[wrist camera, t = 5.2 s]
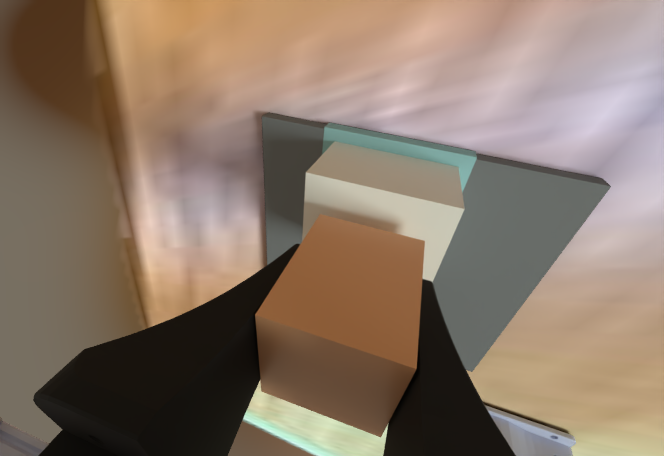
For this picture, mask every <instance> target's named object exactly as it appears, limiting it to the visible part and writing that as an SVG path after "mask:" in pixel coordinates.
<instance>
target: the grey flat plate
mask: <svg viewBox="0 0 664 456" xmlns="http://www.w3.org/2000/svg"><path fill="white" fill-rule="evenodd" d="M262 136H263V163H264V189H265V215H266V242H267V265H268V264H270V263H271V262H272V261H274V260H275V259H276V258H278V257H279V256H280V255H282V254H283V253H284V252H286V251H287V250H288V249H289V248H291V247H292V246H293V245H295V244H301V243H302V234H303V215H304V197H305V179H306V172H307V171H308V169H309V168H310V167H311V166H312V165H313V164H314V163H315V162H316V161H317V160H318V159H319V158H320V157H321V156H322V154H323V153H324V152H325V151H326V150H327V149H328V148H329V147H330V146H331V145H332V144H333V143H334V142H335V141H336V142H341V143H346V144H350V145H355V146H360V147H365V148H370V149H375V150H379V151H384V152H389V153H394V154H399V155H403V156H408V157H413V158H418V159H423V160H428V161H432V162H437V163H442V164H447V165H452V166H456V167H459V174H460V181H461V188H462V195H463V201H464V208H465V209H464V212H463V214H462V216H461V219H460V221H459V223H458V225H457V228H456V230H455V232H454V234H453V237H452V239H451V241H450V244H449V246H448V248H447V250H446V253H445V255H444V257H443V260H442V262H441V264H440V266H439V269H438V271H437V273H436V275H435V278H434V280H433V282H432V283H433V285H434V289H435V292H436V296H437V299H438V302H439V306H440V308H441V311H442V314H443V317H444V320H445V323H446V325H447V328H448V330H449V333H450V335H451V338H452V340H453V343H454V345H455V347H456V350H457V352H458V354H459V356H460V358H461V361H462V363H463V365H464V367H465V369H466V370H468V371H471V372H472V371H473V370H474V369H475V367H476V366H477V365H478V363H479V362H480V361H481V359H482V358H483V357H484V355H485V354H486V353H487V351H488V350H489V349H490V347H491V346H492V345H493V343H494V342H495V341H496V339H497V338H498V337H499V335H500V334H501V333H502V331H503V330H504V329H505V327H506V326H507V325H508V323H509V322H510V321H511V319H512V318H513V317H514V315H515V314H516V313H517V311H518V310H519V309H520V307H521V306H522V305H523V303H524V302H525V301H526V299H527V298H528V297H529V295H530V294H531V293H532V291H533V290H534V289H535V287H536V286H537V285H538V283H539V282H540V281H541V279H542V278H543V277H544V275H545V274H546V273H547V271H548V270H549V269H550V267H551V266H552V265H553V263H554V262H555V261H556V259H557V258H558V257H559V255H560V254H561V253H562V251H563V250H564V249H565V247H566V246H567V245H568V243H569V242H570V241H571V239H572V238H573V237H574V235H575V234H576V233H577V231H578V230H579V229H580V227H581V226H582V225H583V223H584V222H585V221H586V219H587V218H588V217H589V215H590V214H591V213H592V211H593V210H594V209H595V207H596V206H597V205H598V203H599V202H600V201H601V199H602V198H603V197H604V195H605V194H606V193H607V191H608V190H609V189H610V187H611V186H610V185H609V184H608V183H607V182H606V181H605V180H603V179H602V178H597V177H592V176H587V175H582V174H577V173H571V172H566V171H561V170H556V169H551V168H546V167H541V166H536V165H531V164H526V163H521V162H516V161H511V160H506V159H501V158H496V157H491V156H486V155H480V154H476V152H475V151H471V150H466V149H461V148H456V147H451V146H446V145H441V144H436V143H431V142H426V141H420V140H415V139H410V138H405V137H400V136H395V135H390V134H385V133H380V132H375V131H370V130H364V129H359V128H354V127H349V126H344V125H339V124H334V123H328V124H324V123H319V122H314V121H309V120H303V119H298V118H293V117H288V116H283V115H278V114H273V113H267V114H265V115H263V116H262Z"/></svg>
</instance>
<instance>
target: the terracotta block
mask: <svg viewBox="0 0 664 456" xmlns="http://www.w3.org/2000/svg"><path fill="white" fill-rule="evenodd" d="M424 247H425V241H423V240H419V239H416V238H412V237H408V236H404V235H400V234H396V233H392V232H388V231H384V230H380V229H377V228H373V227H369V226H365V225H361V224H357V223H353V222H349V221H345V220H341V219H338V218H334V217H330V216H326V215H322V214H320V215H319V216H318V218H317V219H316V221H315V223H314V224H313V226H312V227H311V229H310V230H309V232H308V233H307V235H306V237H305V238H304V240H303V241H302V243H301V244H300V246H299V247H298V249H297V251H296V252H295V254H294V255H293V257H292V258H291V260H290V261H289V263H288V265H287V266H286V268H285V269H284V271H283V272H282V274H281V275H280V277H279V279H278V280H277V282H276V283H275V285H274V286H273V288H272V289H271V291H270V292H269V294H268V296H267V297H266V299H265V300H264V302H263V303H262V305H261V306H260V308H259V310H258V311H257V313H256V314H255V319H256V331H257V343H258V355H259V367H260V379H261V391H262V392H265V393H267V394H270V395H273V396H275V397H278V398H280V399H283V400H286V401H288V402H291V403H293V404H296V405H298V406H301V407H304V408H306V409H309V410H311V411H314V412H317V413H319V414H322V415H324V416H327V417H330V418H332V419H335V420H337V421H340V422H343V423H345V424H348V425H350V426H353V427H355V428H358V429H361V430H363V431H366V432H368V433H371V434H374V435H376V436H379V437H381V436H382V434H383V432H384V430H385V428H386V426H387V424H388V423H389V421H390V419H391V417H392V415H393V413H394V411H395V409H396V407H397V405H398V403H399V402H400V400H401V398H402V396H403V394H404V392H405V390H406V388H407V386H408V384H409V383H410V381H411V379H412V377H413V375H414V373H415V371H416V369H417V355H418V339H419V324H420V308H421V293H422V278H423V262H424Z"/></svg>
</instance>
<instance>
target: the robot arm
mask: <svg viewBox="0 0 664 456" xmlns="http://www.w3.org/2000/svg"><path fill="white" fill-rule="evenodd" d="M299 246H300V244H295V245H293V246H292V247H291V248H289V249H288V250H287V251H286V252H284V253H283V254H282V255H280V256H279V257H278V258H276V259H275V260H274V261H272V262H271V263H270V264H268V265H267V266H265V267H264V268H263V269H261V270H260V271H258V272H257V273H256V274H254V275H253V276H251V277H250V278H248V279H246V280H245V281H243V282H242V283H240V284H239V285H237V286H235V287H234V288H232V289H230V290H229V291H227V292H225V293H224V294H222V295H220V296H218V297H216V298H214V299H213V300H211V301H209V302H207V303H205V304H203V305H201V306H199V307H197V308H195V309H192V310H190V311H188V312H186V313H184V314H182V315H180V316H177V317H175V318H173V319H170V320H168V321H165V322H163V323H160V324H158V325H155V326H153V327H150V328H147V329H145V330H142V331H139V332H137V333H134V334H131V335H128V336H125V337H122V338H119V339H116V340H112V341H109V342H106V343H103V344H100V345H97V346H94V347H90V348H87V349H84V350H83V351H82V352H81V353H80V354H78V355H77V356H76V357H75V358H74V359H73V360H72V361H70V362H69V363H68V364H67V365H66V366H65V367H64V368H63V369H62V370H60V371H59V372H58V373H57V374H56V375H55V376H54V377H53V378H52V379H50V380H49V381H48V382H47V383H46V384H45V385H44V386H43V387H42V388H41V389H40V390H38V391H37V392H36V393H35V395H34V399H33V400H34V402H35V404H36V405H37V406H38V407H39V408H40V409H41V410H42V411H43V412H44V413H45V414H46V415H47V416H48V417H50V418H51V419H52V420H53V421H54V422H55V423H56V424H57V425H58V426H59V427H61V428H62V429H63V430H62V431H61V432H60V433H59V434H58V435H57V436H56V437H55V438H54V439H53V440H52V442H51V443H50V444H49V443H47V442H44V441H43V440H40V439H38V438H37V437H34V436H32V435H30V434H28V433H26V432H24V431H22V430H20V429H18V428H16V427H14V426H12V425H10V424H8V423H6V422H4V421H2V418H1V417H0V456H228V453H229V451H230V448H231V446H232V444H233V441H234V439H235V436H236V434H237V431H238V429H239V427H240V424H241V422H242V420H243V417H244V415H245V413H246V410H247V408H248V406H249V403H250V401H251V399H252V397H253V394H254V392H255V390H256V388H257V385H258V383H259V381H260V367H259V355H258V343H257V331H256V319H255V314H256V313H257V311H258V310H259V308H260V306H261V305H262V303H263V302H264V300H265V299H266V297H267V296H268V294H269V292H270V291H271V289H272V288H273V286H274V285H275V283H276V282H277V280H278V279H279V277H280V275H281V274H282V272H283V271H284V269H285V268H286V266H287V265H288V263H289V261H290V260H291V258H292V257H293V255H294V254H295V252H296V251H297V249H298V247H299ZM575 444H576V441H575V438H574V437H573V436H572V435H570V434H567V433H564V432H562V431H559V430H556V429H553V428H550V427H547V426H544V425H541V424H538V423H535V422H532V421H530V420H527V419H524V418H521V417H518V416H515V415H512V414H509V413H506V412H503V411H500V410H498V409H495V408H492V407H489V406H486V405H484V403H483V401H482V400H481V398H480V396H479V394H478V392H477V390H476V389H475V387H474V385H473V383H472V381H471V379H470V377H469V375H468V373H467V371H466V369H465V367H464V365H463V363H462V361H461V358H460V356H459V354H458V352H457V350H456V347H455V345H454V343H453V340H452V338H451V335H450V333H449V330H448V328H447V325H446V323H445V320H444V317H443V314H442V311H441V308H440V306H439V302H438V299H437V296H436V292H435V289H434V285H433V283H432V281H429V280H426V279H422V293H421V308H420V324H419V339H418V355H417V369H416V371H415V373H414V375H413V377H412V379H411V381H410V383H409V384H408V386H407V388H406V390H405V392H404V394H403V396H402V398H401V400H400V402H399V403H398V405H397V407H396V409H395V411H394V413H393V415H392V417H391V419H390V421H389V424H388V430H387V437H386V443H385V449H384V455H383V456H573V454H572V450H571V448H570V447H572V446H573V445H575Z"/></svg>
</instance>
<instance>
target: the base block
mask: <svg viewBox="0 0 664 456" xmlns="http://www.w3.org/2000/svg"><path fill="white" fill-rule="evenodd" d="M464 209H465V208H464V201H463V195H462V188H461V181H460V174H459V167H456V166H452V165H447V164H442V163H437V162H432V161H428V160H423V159H418V158H413V157H408V156H403V155H399V154H394V153H389V152H384V151H379V150H375V149H370V148H365V147H360V146H355V145H350V144H346V143H341V142H336V141H335V142H334V143H333V144H332V145H331V146H330V147H329V148H328V149H327V150H326V151H325V152H324V153H323V154H322V156H321V157H320V158H319V159H318V160H317V161H316V162H315V163H314V164H313V165H312V166H311V167H310V168H309V169H308V171H307V172H306V179H305V197H304V215H303V234H302V241H303V240H304V238H305V237H306V235H307V233H308V232H309V230H310V229H311V227H312V226H313V224H314V223H315V221H316V219H317V218H318V216H319V215H320V214H322V215H326V216H330V217H334V218H338V219H341V220H345V221H349V222H353V223H357V224H361V225H365V226H369V227H373V228H377V229H380V230H384V231H388V232H392V233H396V234H400V235H404V236H408V237H412V238H416V239H419V240H423V241H425V247H424V262H423V278H422V279H426V280H429V281H432V282H433V280H434V278H435V275H436V273H437V271H438V269H439V266H440V264H441V262H442V260H443V257H444V255H445V253H446V250H447V248H448V246H449V244H450V241H451V239H452V237H453V234H454V232H455V230H456V228H457V225H458V223H459V221H460V219H461V216H462V214H463V212H464Z"/></svg>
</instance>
